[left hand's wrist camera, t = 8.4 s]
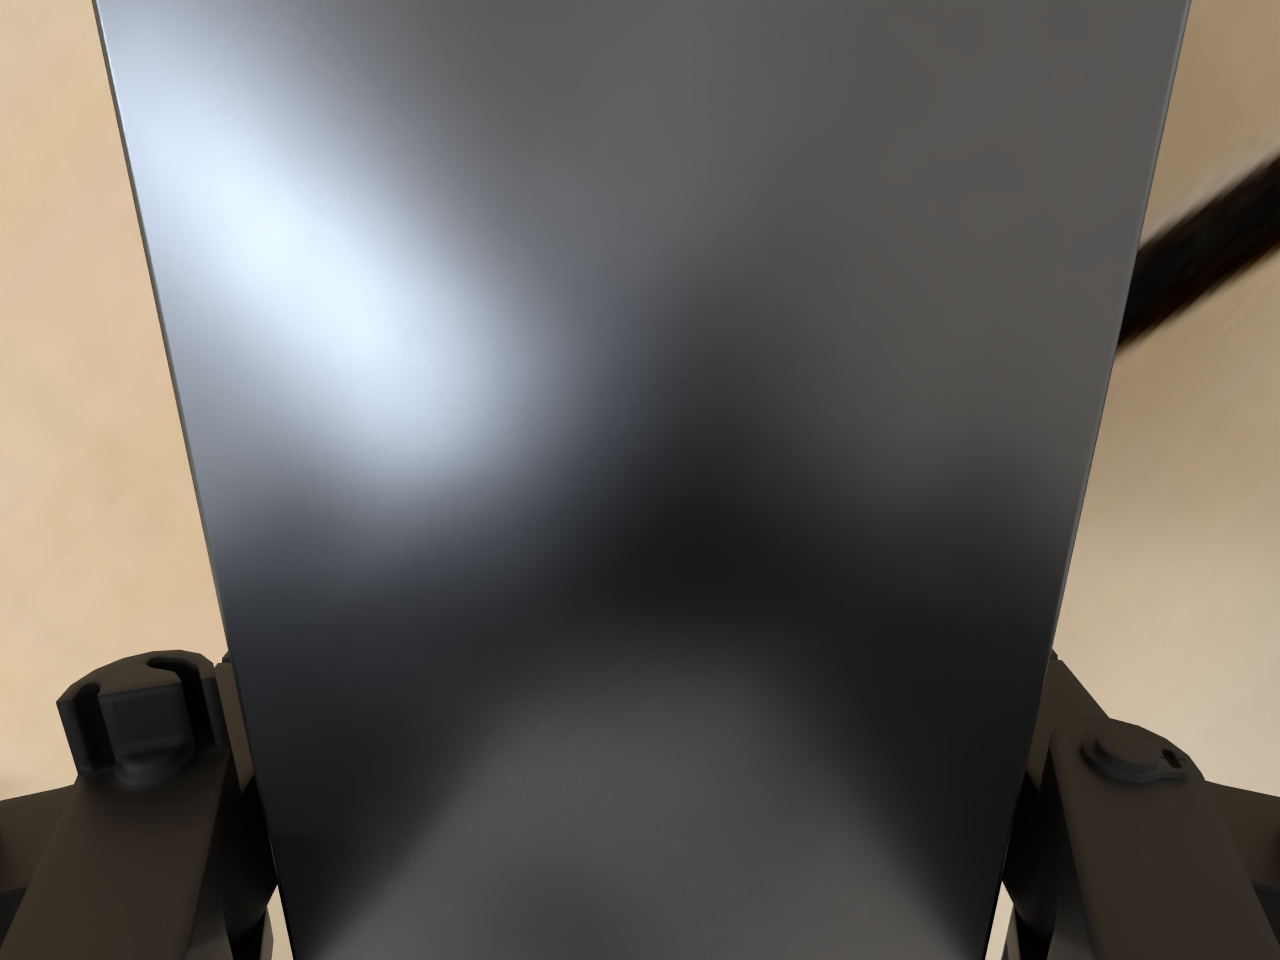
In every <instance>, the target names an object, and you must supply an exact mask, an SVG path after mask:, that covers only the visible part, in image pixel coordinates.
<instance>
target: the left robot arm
mask: <svg viewBox="0 0 1280 960" xmlns="http://www.w3.org/2000/svg"><path fill="white" fill-rule="evenodd" d="M1057 656H1058V655H1057V654H1056V653H1055V651H1054V650H1053V649H1052V650H1051V655H1050V660H1049V664H1048V669H1047V674H1046V678H1045V683H1044V687H1043V692H1042V697H1041V701H1040V706H1039V711H1038V715H1037V720H1036V725H1035V729H1034V734H1033V739H1032V743H1031V748H1030V753H1029V757H1028V762H1027V766H1026V771H1025V776H1024V780H1023V785H1022V790H1021V794H1020V799H1019V804H1018V808H1017V813H1016V818H1015V822H1014V827H1013V832H1012V836H1011V841H1010V846H1009V850H1008V855H1007V859H1006V864H1005V869H1004V873H1003V878H1002V882H1003V884H1004V886H1005V888H1006V890H1007V892H1008V894H1009V896H1010V898H1011V900H1012V902H1013V908H1012V913H1011V917H1010V922H1009V926H1008V931H1007V935H1006V940H1005V944H1004V949H1003V953H1002V958H1001V960H1280V797H1277V796H1272V795H1267V794H1262V793H1258V792H1253V791H1248V790H1243V789H1239V788H1234V787H1229V786H1224V785H1220V784H1216V783H1212V782H1209V781H1205V779H1204V777H1203V775H1202V773H1201V772H1200V770H1199V769H1198V768H1197V766H1196V765H1195V764H1194V762H1193V761H1192V760H1191V758H1190V757H1189V756H1188V755H1187V754H1186V753H1185V752H1183V751H1182V750H1180V749H1179V748H1178V747H1176V746H1175V745H1174V744H1172V743H1171V742H1170V741H1168V740H1167V739H1166V738H1163V737H1161V736H1159V735H1157V734H1155V733H1153V732H1151V731H1149V730H1146V729H1144V728H1142V727H1140V726H1137V725H1134V724H1130V723H1126V722H1123V721H1119V720H1115V719H1111V718H1109V717H1108V716H1107V715H1106V713H1105V712H1104V711H1103V710H1102V709H1101V707H1100V706H1099V705H1098V704H1097V702H1096V701H1095V700H1094V699H1093V698H1092V696H1091V695H1090V694H1089V693H1088V692H1087V690H1086V689H1085V688H1084V687H1083V685H1082V684H1081V683H1080V682H1079V681H1078V679H1077V678H1076V677H1075V676H1074V675H1073V673H1072V672H1071V671H1070V670H1069V668H1068V667H1067V666H1066V665H1065V664H1064V662H1063V661H1062V660H1058V658H1057ZM56 704H57V708H58V711H59V714H60V717H61V721H62V724H63V727H64V730H65V733H66V737H67V740H68V743H69V746H70V750H71V753H72V756H73V759H74V762H75V766H76V769H77V772H78V776H77V779H76V781H75V783H74V784H73V785H70V786H66V787H62V788H59V789H54V790H49V791H44V792H40V793H35V794H30V795H25V796H21V797H16V798H11V799H6V800H2V801H0V960H271V959H272V949H273V934H272V928H271V922H270V917H269V913H268V908H267V905H268V902H269V900H270V898H271V896H272V894H273V892H274V890H275V888H276V886H277V879H276V874H275V870H274V865H273V860H272V855H271V851H270V846H269V841H268V836H267V832H266V827H265V822H264V817H263V813H262V808H261V803H260V798H259V793H258V789H257V784H256V779H255V774H254V770H253V765H252V760H251V755H250V751H249V746H248V741H247V736H246V732H245V727H244V722H243V717H242V713H241V708H240V703H239V698H238V694H237V689H236V684H235V679H234V675H233V670H232V665H231V660H230V656H229V651H228V652H227V653H226V654H225V655H224V657H223V658H222V663H218V664H217V665H216V666H215V668H214V665H213V663H212V662H211V661H210V660H208V659H207V658H206V657H204V656H203V655H201V654H199V653H194V652H188V651H183V650H167V651H152V652H148V653H143V654H139V655H135V656H131V657H126V658H123V659H120V660H118V661H115V662H113V663H110V664H108V665H105V666H103V667H101V668H98V669H96V670H94V671H92V672H91V673H89V674H87V675H86V676H84V677H83V678H81V679H80V680H78V681H77V682H75V683H73V684H72V685H70V687H69V688H68V689H67V690H66V691H65V692H64V693H63V695H62V696H61V697H60V698H59V699H58V700H57V701H56Z"/></svg>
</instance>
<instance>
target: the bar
mask: <svg viewBox="0 0 1280 960" xmlns="http://www.w3.org/2000/svg"><path fill="white" fill-rule="evenodd" d="M92 4H93V9H94V14H95V18H96V23H97V28H98V33H99V37H100V42H101V47H102V52H103V56H104V61H105V66H106V71H107V75H108V80H109V85H110V90H111V94H112V99H113V104H114V109H115V113H116V118H117V123H118V128H119V133H120V137H121V142H122V147H123V152H124V156H125V161H126V166H127V171H128V175H129V180H130V185H131V190H132V194H133V199H134V204H135V209H136V213H137V218H138V223H139V228H140V232H141V237H142V242H143V247H144V251H145V256H146V261H147V266H148V270H149V275H150V280H151V285H152V289H153V294H154V299H155V304H156V308H157V313H158V318H159V323H160V327H161V332H162V337H163V342H164V347H165V351H166V356H167V361H168V366H169V370H170V375H171V380H172V385H173V389H174V394H175V399H176V404H177V408H178V413H179V418H180V423H181V427H182V432H183V437H184V442H185V446H186V451H187V456H188V461H189V465H190V470H191V475H192V480H193V484H194V489H195V494H196V499H197V503H198V508H199V513H200V518H201V522H202V527H203V532H204V537H205V541H206V546H207V551H208V556H209V560H210V565H211V570H212V575H213V580H214V584H215V589H216V594H217V599H218V603H219V608H220V613H221V618H222V622H223V627H224V632H225V637H226V641H227V646H228V651H229V656H230V660H231V665H232V670H233V675H234V679H235V684H236V689H237V694H238V698H239V703H240V708H241V713H242V717H243V722H244V727H245V732H246V736H247V741H248V746H249V751H250V755H251V760H252V765H253V770H254V774H255V779H256V784H257V789H258V793H259V798H260V803H261V808H262V813H263V817H264V822H265V827H266V832H267V836H268V841H269V846H270V851H271V855H272V860H273V865H274V870H275V874H276V879H277V884H278V889H279V893H280V898H281V903H282V908H283V912H284V917H285V922H286V927H287V931H288V936H289V941H290V946H291V950H292V955H293V960H985V957H986V952H987V948H988V943H989V938H990V934H991V929H992V925H993V920H994V915H995V911H996V906H997V901H998V897H999V892H1000V887H1001V883H1002V878H1003V873H1004V869H1005V864H1006V859H1007V855H1008V850H1009V846H1010V841H1011V836H1012V832H1013V827H1014V822H1015V818H1016V813H1017V808H1018V804H1019V799H1020V794H1021V790H1022V785H1023V780H1024V776H1025V771H1026V766H1027V762H1028V757H1029V753H1030V748H1031V743H1032V739H1033V734H1034V729H1035V725H1036V720H1037V715H1038V711H1039V706H1040V701H1041V697H1042V692H1043V687H1044V683H1045V678H1046V674H1047V669H1048V664H1049V660H1050V655H1051V650H1052V646H1053V641H1054V636H1055V632H1056V627H1057V622H1058V618H1059V613H1060V608H1061V604H1062V599H1063V594H1064V590H1065V585H1066V581H1067V576H1068V571H1069V567H1070V562H1071V557H1072V553H1073V548H1074V543H1075V539H1076V534H1077V529H1078V525H1079V520H1080V515H1081V511H1082V506H1083V502H1084V497H1085V492H1086V488H1087V483H1088V478H1089V474H1090V469H1091V464H1092V460H1093V455H1094V450H1095V446H1096V441H1097V436H1098V432H1099V427H1100V423H1101V418H1102V413H1103V409H1104V404H1105V399H1106V395H1107V390H1108V385H1109V381H1110V376H1111V371H1112V367H1113V362H1114V357H1115V353H1116V348H1117V343H1118V339H1119V334H1120V330H1121V325H1122V320H1123V316H1124V311H1125V306H1126V302H1127V297H1128V292H1129V288H1130V283H1131V278H1132V274H1133V269H1134V264H1135V260H1136V255H1137V251H1138V246H1139V241H1140V237H1141V232H1142V227H1143V223H1144V218H1145V213H1146V209H1147V204H1148V199H1149V195H1150V190H1151V185H1152V181H1153V176H1154V171H1155V167H1156V162H1157V158H1158V153H1159V148H1160V144H1161V139H1162V134H1163V130H1164V125H1165V120H1166V116H1167V111H1168V106H1169V102H1170V97H1171V92H1172V88H1173V83H1174V79H1175V74H1176V69H1177V65H1178V60H1179V55H1180V51H1181V46H1182V41H1183V37H1184V32H1185V27H1186V23H1187V18H1188V13H1189V9H1190V4H1191V0H92Z"/></svg>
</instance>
